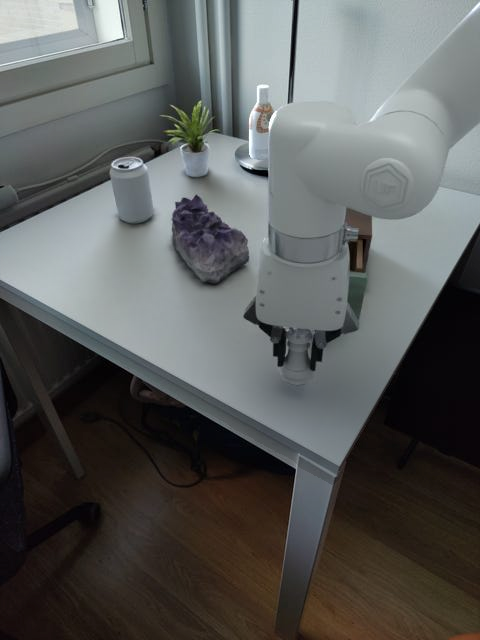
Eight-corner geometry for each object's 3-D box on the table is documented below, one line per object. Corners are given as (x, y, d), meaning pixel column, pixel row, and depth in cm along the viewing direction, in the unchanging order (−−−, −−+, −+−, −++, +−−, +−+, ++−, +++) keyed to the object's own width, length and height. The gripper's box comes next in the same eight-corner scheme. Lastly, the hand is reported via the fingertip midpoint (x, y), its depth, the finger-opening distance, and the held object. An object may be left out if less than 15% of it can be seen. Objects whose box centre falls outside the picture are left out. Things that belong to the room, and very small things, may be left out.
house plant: (174, 158, 122) (166, 92, 111) (226, 159, 121) (223, 92, 110) (162, 181, 111) (152, 111, 101) (218, 183, 110) (215, 111, 99)
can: (112, 217, 99) (99, 162, 91) (140, 204, 103) (130, 151, 95) (133, 229, 95) (122, 173, 87) (161, 215, 99) (153, 161, 91)
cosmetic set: (344, 185, 108) (356, 100, 96) (320, 199, 103) (330, 111, 91) (264, 157, 121) (266, 79, 109) (240, 168, 116) (238, 88, 104)
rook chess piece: (294, 357, 63) (296, 312, 58) (320, 373, 61) (325, 328, 55) (272, 375, 61) (273, 330, 55) (299, 392, 58) (302, 347, 53)
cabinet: (361, 289, 79) (372, 235, 72) (287, 281, 81) (291, 228, 74) (362, 244, 89) (371, 193, 82) (297, 238, 91) (301, 187, 84)
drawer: (357, 345, 67) (367, 298, 61) (279, 335, 69) (282, 289, 63) (359, 273, 80) (367, 229, 75) (293, 266, 82) (297, 223, 76)
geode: (150, 242, 91) (148, 193, 85) (202, 232, 97) (203, 185, 91) (200, 291, 78) (201, 237, 72) (256, 276, 83) (262, 224, 77)
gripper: (387, 222, 48) (363, 348, 60) (233, 213, 51) (240, 334, 63) (390, 262, 43) (363, 392, 55) (217, 249, 46) (228, 374, 58)
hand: (297, 360), depth 59 cm, fingers closed on rook chess piece, 3 cm apart
